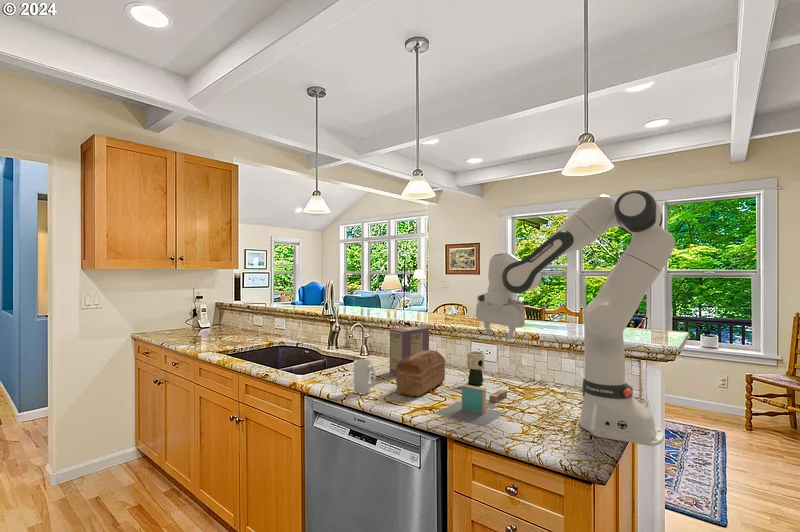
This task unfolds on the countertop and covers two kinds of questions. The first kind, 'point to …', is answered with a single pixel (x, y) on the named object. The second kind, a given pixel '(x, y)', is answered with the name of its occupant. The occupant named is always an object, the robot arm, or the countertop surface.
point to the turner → (496, 398)
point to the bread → (420, 372)
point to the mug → (363, 376)
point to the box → (407, 343)
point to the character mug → (475, 367)
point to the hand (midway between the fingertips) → (498, 336)
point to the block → (474, 399)
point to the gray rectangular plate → (469, 414)
